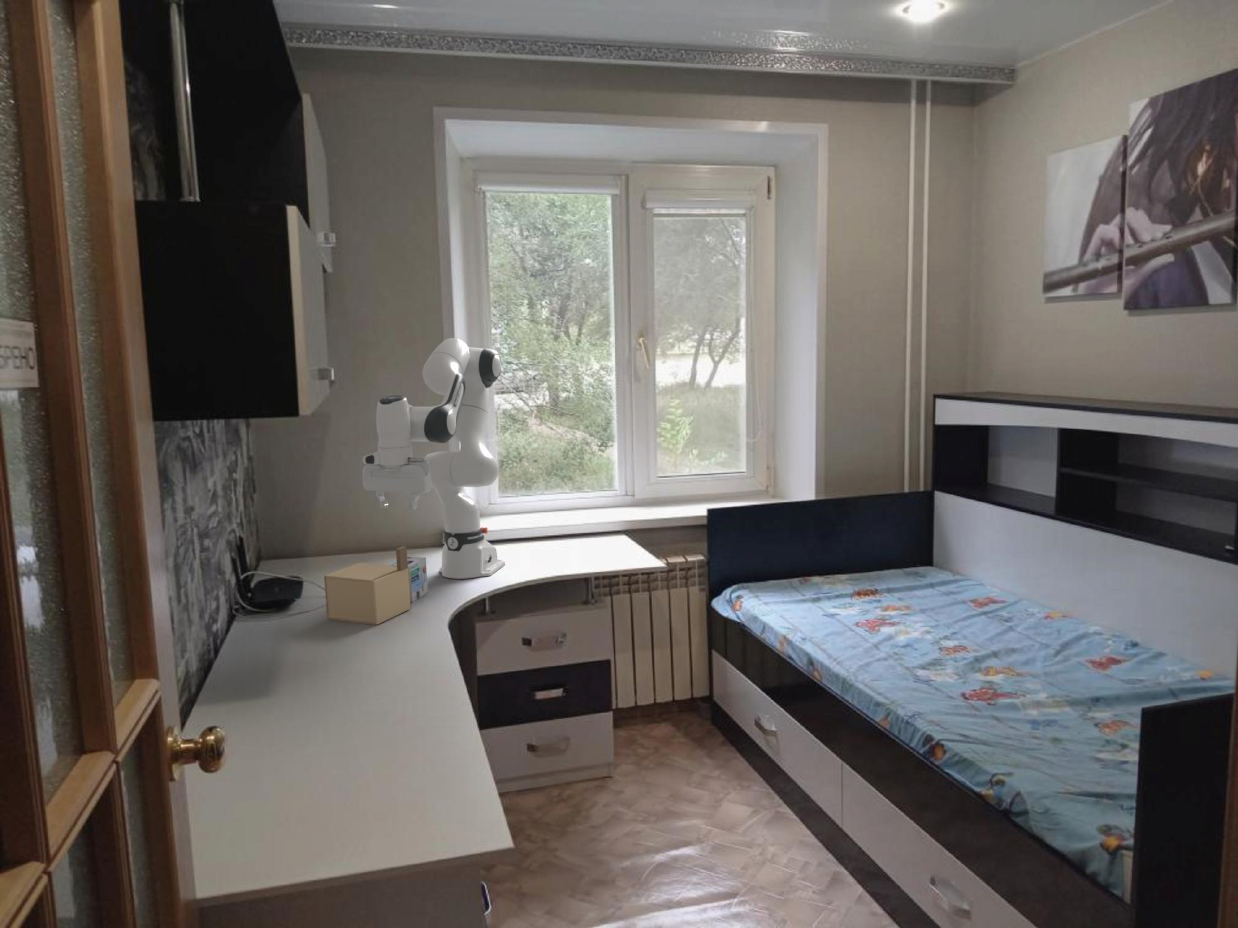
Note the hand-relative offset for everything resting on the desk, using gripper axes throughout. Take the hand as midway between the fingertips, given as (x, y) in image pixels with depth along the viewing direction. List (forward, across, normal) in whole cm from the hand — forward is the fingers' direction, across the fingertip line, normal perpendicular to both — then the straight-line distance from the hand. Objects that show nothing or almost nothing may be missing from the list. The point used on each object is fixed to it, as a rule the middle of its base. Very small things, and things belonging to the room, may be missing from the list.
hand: (398, 508), depth 228 cm
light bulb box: (+29, +7, -12) cm, 32 cm away
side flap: (+29, 0, +5) cm, 29 cm away
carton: (+29, +8, +5) cm, 30 cm away
